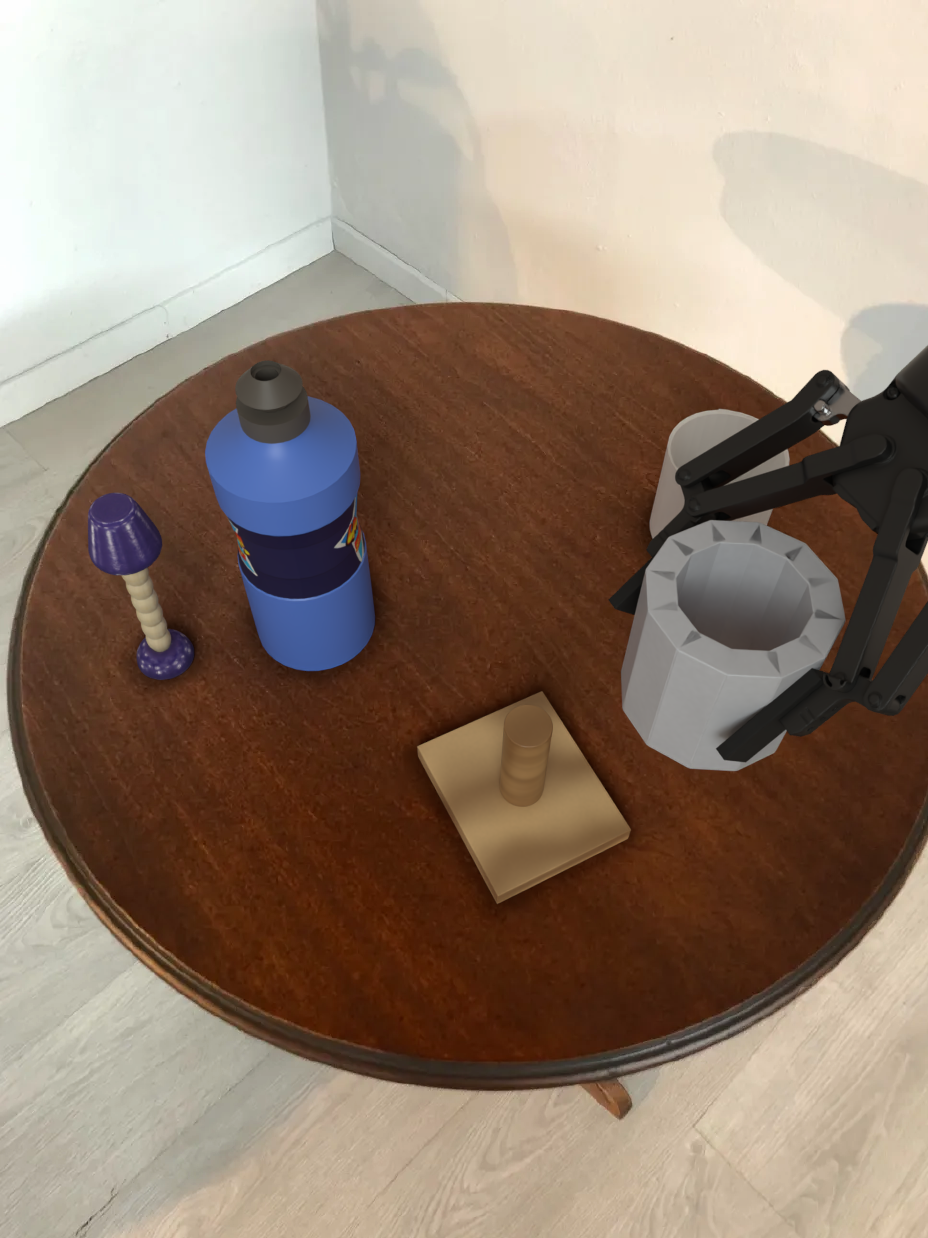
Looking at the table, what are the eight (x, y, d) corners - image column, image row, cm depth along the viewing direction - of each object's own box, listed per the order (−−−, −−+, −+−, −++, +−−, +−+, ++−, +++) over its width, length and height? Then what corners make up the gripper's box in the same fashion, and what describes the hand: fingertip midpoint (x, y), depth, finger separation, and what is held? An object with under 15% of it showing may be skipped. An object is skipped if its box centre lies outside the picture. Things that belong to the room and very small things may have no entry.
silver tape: (825, 728, 59) (884, 630, 51) (682, 798, 56) (719, 707, 48) (726, 604, 64) (765, 497, 56) (590, 663, 62) (610, 560, 53)
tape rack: (628, 838, 68) (651, 771, 60) (497, 904, 66) (502, 843, 57) (540, 701, 74) (550, 622, 66) (417, 756, 72) (412, 681, 64)
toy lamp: (171, 620, 78) (111, 469, 65) (215, 649, 77) (163, 501, 63) (125, 662, 76) (53, 515, 62) (170, 693, 75) (105, 550, 61)
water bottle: (372, 568, 81) (343, 312, 61) (381, 666, 76) (352, 421, 56) (255, 579, 81) (186, 324, 60) (256, 678, 75) (180, 435, 55)
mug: (746, 588, 80) (777, 510, 73) (636, 556, 82) (654, 477, 74) (775, 484, 87) (806, 402, 79) (672, 456, 89) (692, 374, 81)
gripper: (1219, 558, 45) (827, 849, 53) (880, 273, 56) (604, 550, 65) (1207, 519, 39) (770, 852, 48) (832, 211, 51) (537, 524, 59)
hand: (674, 678), depth 56 cm, fingers closed on silver tape, 10 cm apart
